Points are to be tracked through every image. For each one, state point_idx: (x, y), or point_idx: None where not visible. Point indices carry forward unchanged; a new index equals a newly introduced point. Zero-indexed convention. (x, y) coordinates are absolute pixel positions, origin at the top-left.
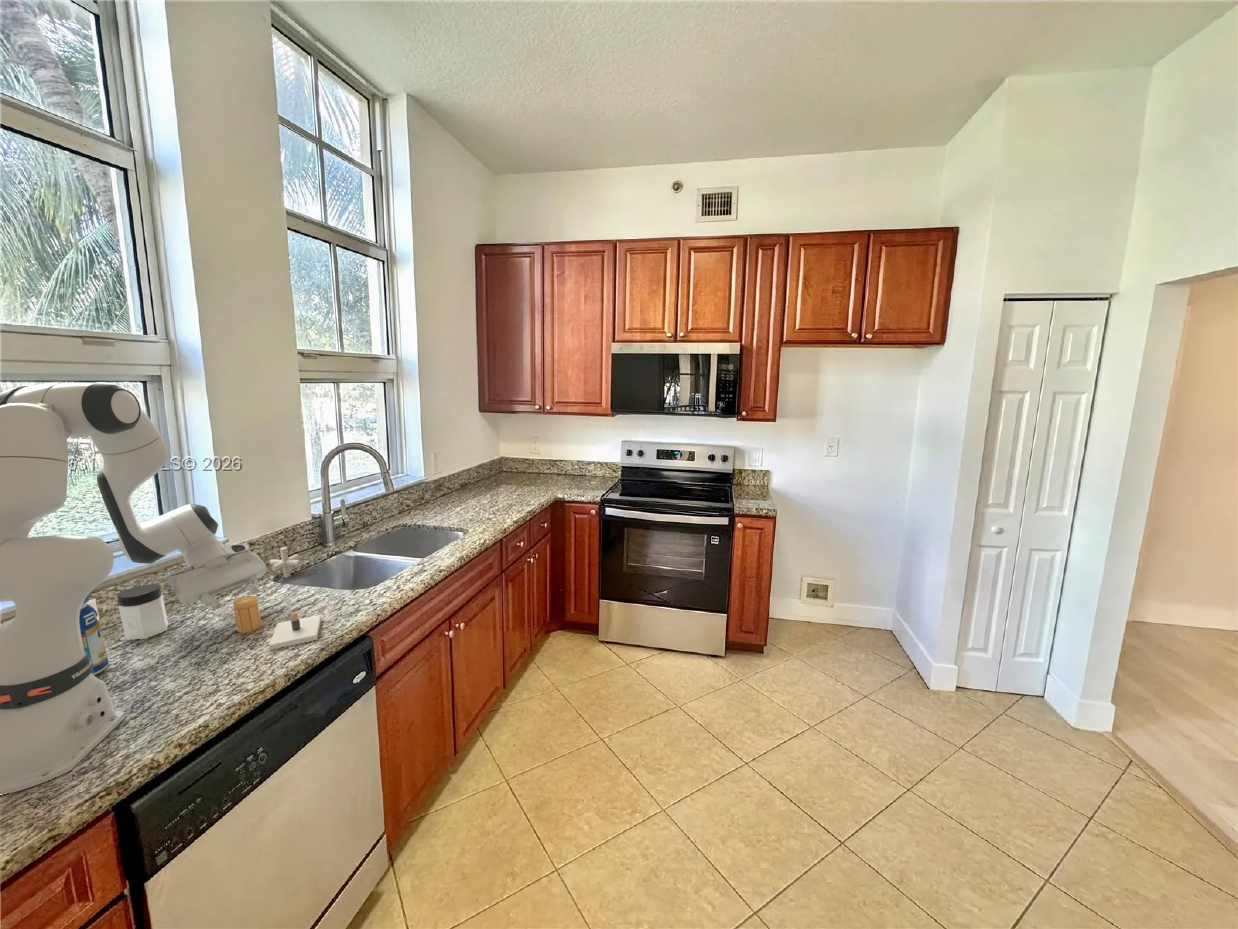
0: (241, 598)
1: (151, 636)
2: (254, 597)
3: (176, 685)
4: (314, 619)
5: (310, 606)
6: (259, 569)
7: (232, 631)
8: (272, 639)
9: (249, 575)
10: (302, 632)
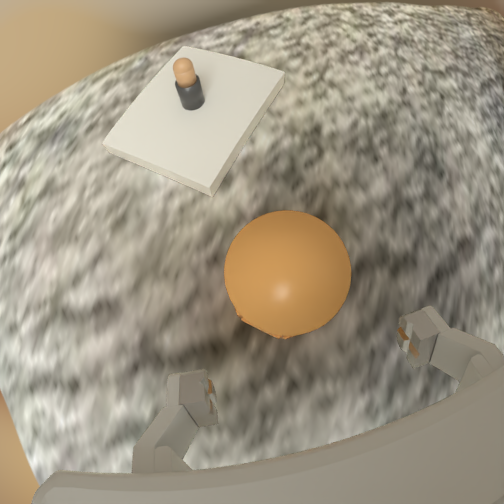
0: (294, 324)
1: None
2: (234, 268)
3: (463, 113)
4: (129, 124)
5: (70, 291)
6: (79, 492)
7: (332, 320)
8: (267, 90)
9: (169, 476)
10: (195, 73)
